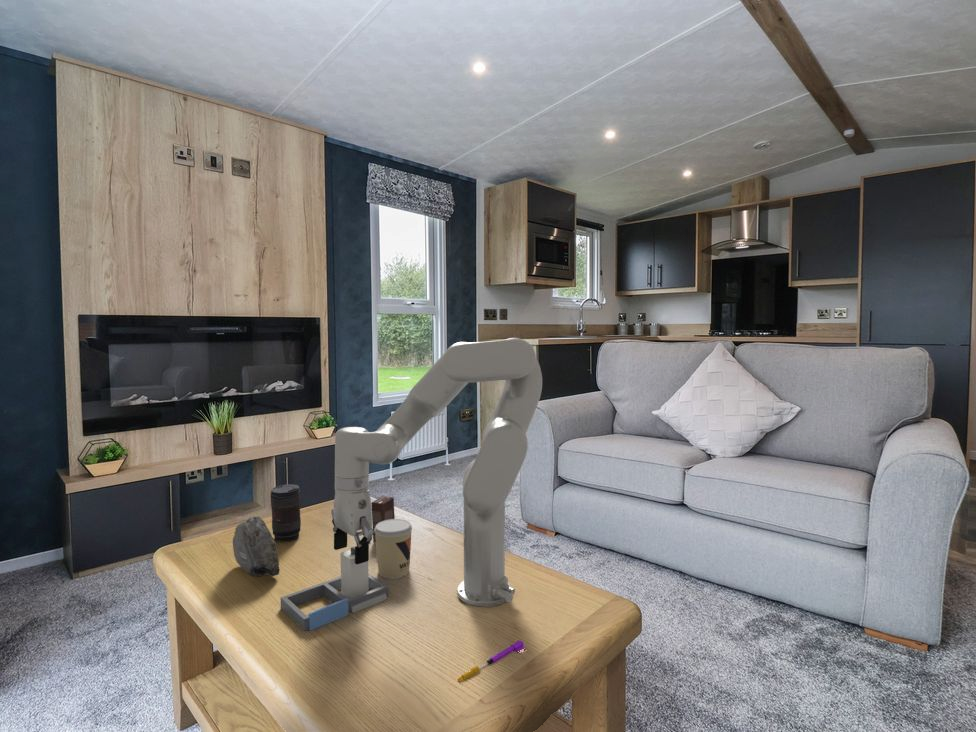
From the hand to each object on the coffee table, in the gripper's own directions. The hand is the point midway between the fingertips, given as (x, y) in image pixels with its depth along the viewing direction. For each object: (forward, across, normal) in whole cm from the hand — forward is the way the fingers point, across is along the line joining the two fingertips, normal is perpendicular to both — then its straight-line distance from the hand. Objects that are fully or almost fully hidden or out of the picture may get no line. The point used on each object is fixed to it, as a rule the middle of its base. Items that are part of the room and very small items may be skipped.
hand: (350, 555), depth 120 cm
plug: (+10, -1, -1) cm, 10 cm away
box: (+10, +22, -23) cm, 33 cm away
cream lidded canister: (+10, +3, -14) cm, 17 cm away
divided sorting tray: (+10, -1, +4) cm, 10 cm away
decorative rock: (+11, +26, +12) cm, 31 cm away
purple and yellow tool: (+9, -41, -7) cm, 42 cm away
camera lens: (+11, +43, -3) cm, 45 cm away
